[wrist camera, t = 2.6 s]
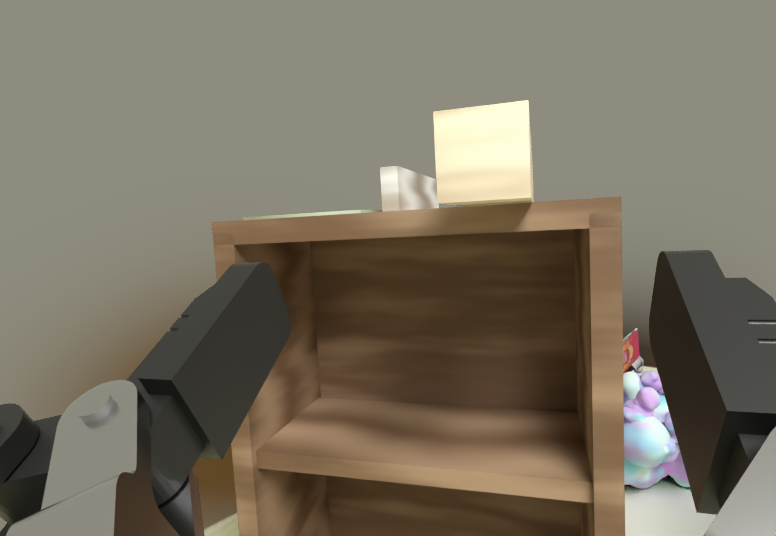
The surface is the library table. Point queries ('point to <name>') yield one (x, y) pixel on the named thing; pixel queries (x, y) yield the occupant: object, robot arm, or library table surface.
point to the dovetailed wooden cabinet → (437, 369)
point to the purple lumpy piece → (647, 425)
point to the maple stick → (484, 155)
